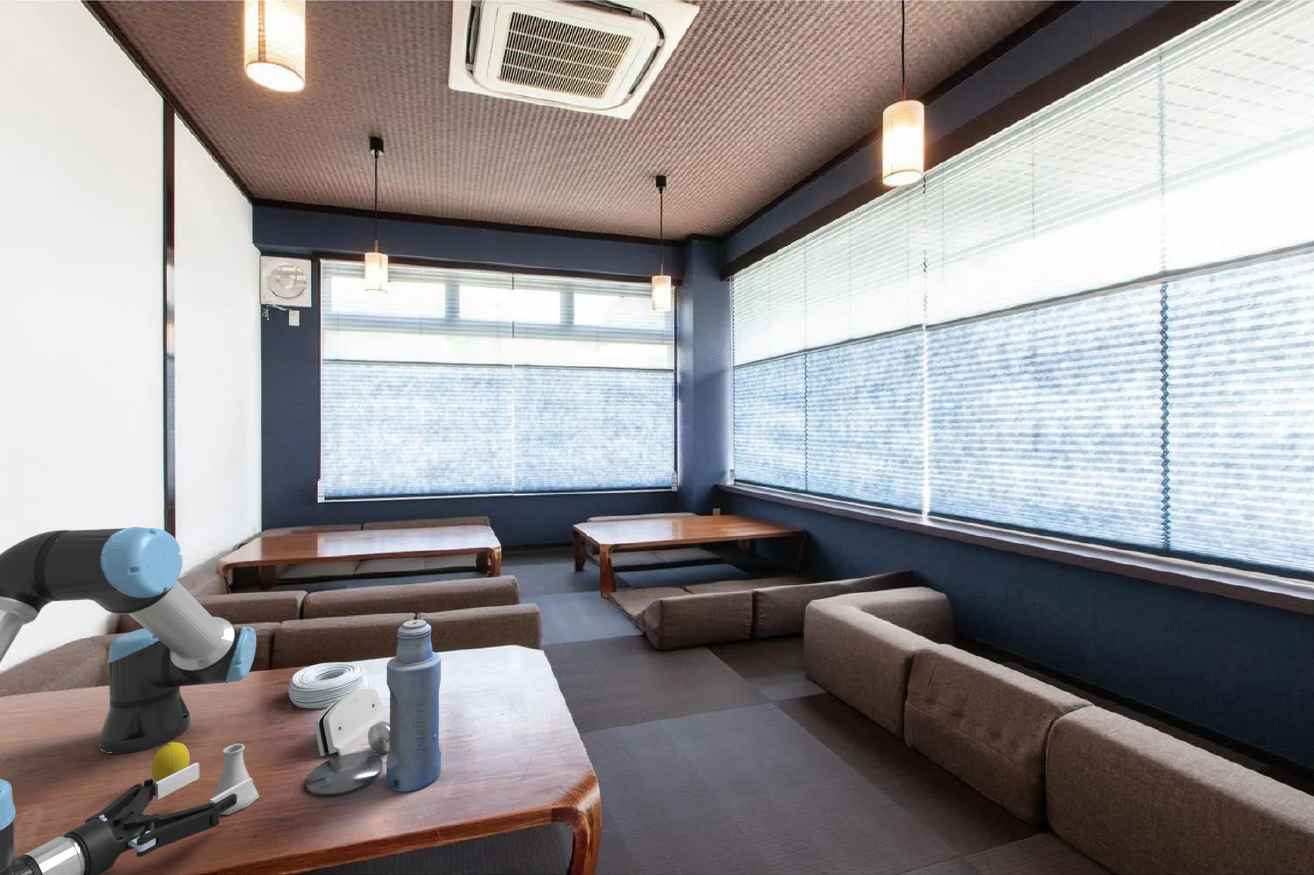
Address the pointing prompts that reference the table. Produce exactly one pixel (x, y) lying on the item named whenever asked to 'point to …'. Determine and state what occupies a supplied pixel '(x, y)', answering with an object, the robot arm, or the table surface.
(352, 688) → the cable
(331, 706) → the white flat angled piece
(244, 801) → the flask
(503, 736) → the table surface
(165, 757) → the lemon
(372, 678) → the table surface
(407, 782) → the bottle
